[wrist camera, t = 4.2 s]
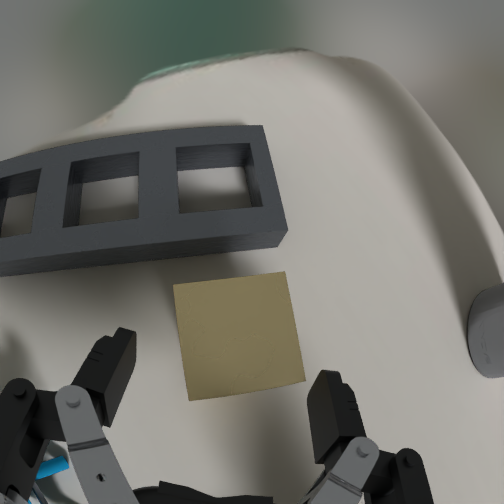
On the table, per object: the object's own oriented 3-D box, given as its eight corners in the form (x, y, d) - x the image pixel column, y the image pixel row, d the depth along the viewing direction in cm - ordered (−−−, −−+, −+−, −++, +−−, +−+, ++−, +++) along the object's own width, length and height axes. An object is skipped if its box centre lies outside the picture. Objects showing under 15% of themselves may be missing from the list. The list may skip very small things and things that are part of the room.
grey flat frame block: (256, 148, 25) (262, 125, 23) (277, 247, 22) (288, 230, 20) (0, 183, 21) (-14, 165, 18) (-15, 278, 18) (-36, 266, 15)
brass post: (246, 314, 20) (285, 271, 11) (256, 373, 19) (305, 380, 10) (186, 322, 20) (172, 284, 10) (195, 382, 18) (188, 400, 9)
